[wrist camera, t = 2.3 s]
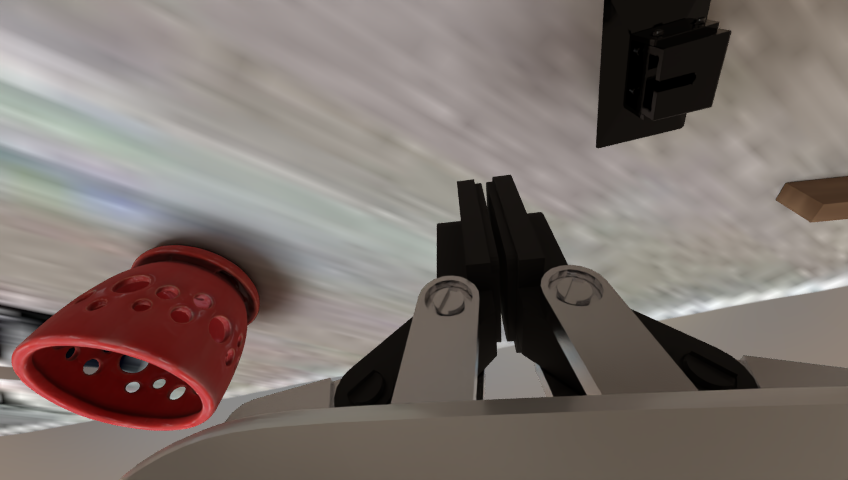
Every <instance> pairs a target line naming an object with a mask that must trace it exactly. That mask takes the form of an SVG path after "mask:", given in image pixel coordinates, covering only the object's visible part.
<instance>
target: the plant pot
mask: <svg viewBox="0 0 848 480" xmlns="http://www.w3.org/2000/svg"><path fill="white" fill-rule="evenodd" d="M259 306H260V301H259V296H258V292H257V289H256V287H255V286H254V284H253V282H252V281H251V280H250V278H249V277H248V276H247V275H246V274H245V273H244V272H243V271H242V270H241V269H240V268H239V267H238V266H236V265H235V264H233V263H232V262H230V261H229V260H227V259H225V258H223V257H221V256H220V255H217V254H215V253H212V252H210V251H207V250H204V249H201V248H196V247H191V246H183V245H169V246H161V247H157V248H153V249H150V250H148V251H146V252H145V253H143V254H142V255H140V256H139V257H138V258H137V259H136V260H135V262H134V263H133V265H132V267H131V269H130V270H127V271H125V272H122V273H120V274H117V275H115V276H113V277H111V278H109V279H107V280H106V281H104V282H102V283H100V284H99V285H97V286H95V287H93V288H92V289H90V290H88V291H87V292H85V293H83V294H82V295H80V296H79V297H77V298H76V299H74V300H73V301H72V302H70V303H69V304H68V305H66V306H65V307H63V308H62V309H61V310H59V311H58V312H57V313H56V314H55V315H53V316H52V317H51V318H50V319H48V320H47V321H46V322H45V323H43V324H42V325H41V326H40V327H39V328H38V329H36V330H35V331H34V332H33V333H32V334H31V335H30V336H28V337H27V338H26V339H25V340H24V341H23V342H22V343H21V344H19V346H17V347H16V349H15V350H14V352H13V354H12V366H13V369H14V371H15V373H16V374H17V375H18V376H19V378H20V379H21V381H22V382H23V383H24V384H25V385H27V386H28V387H29V388H31V389H32V390H33V391H35V392H36V393H37V394H39V395H40V396H42V397H44V398H45V399H47V400H49V401H51V402H53V403H54V404H56V405H58V406H60V407H62V408H64V409H67V410H69V411H71V412H73V413H76V414H78V415H81V416H84V417H87V418H90V419H93V420H97V421H101V422H104V423H109V424H112V425H117V426H124V427H129V428H135V429H144V430H164V431H167V430H181V429H187V428H191V427H194V426H197V425H199V424H201V423H203V422H205V421H206V420H207V419H209V418H210V417H211V416H212V414H213V413H214V412H215V410H216V409H217V407H218V405H219V403H220V401H221V399H222V397H223V396H224V394H225V392H226V390H227V388H228V386H229V384H230V382H231V379H232V377H233V375H234V373H235V370H236V368H237V365H238V363H239V360H240V357H241V354H242V351H243V348H244V344H245V339H246V333H247V325H249V324H250V323H251V322H252V321H253V320H254V319H255V318H256V316H257V314H258V311H259ZM72 347H75V352H74V354H73V356H71V357H70V358H68V359H66V356H65V355H66V353H67V351H68V350H69V349H70V348H72ZM102 349H103V350H108V351H110V352H108V353H105V352H103V351H102ZM124 354H125V355H128V356H131V357H135V358H138V359H141V360H144V361H146V362H149V363H148V365H147V367H146V368H145V369H143V370H142V371H140V372H138V373H128V372H125V371H123V370H122V369H121V368H120V366H119V361H120V359H121V357H122V356H123V355H124ZM90 359H96V360H98V362H99V368H98V370H97V371H96V372H95V373H94V374H92V375H88V374H85V373H84V371H83V366H84V364H85V363H86V362H87V361H88V360H90ZM159 379H165V380H166V383H165V385H164V386H163V387H161V388H158V389H156V388H154V387H153V384H154V382H155V381H157V380H159ZM131 382H138V383H139V384H140V388H139V389H138V390H137V391H136V392H133V393H129V392H127V391H126V386H127V385H128V384H129V383H131ZM178 387H185V388H186V390H185V392H184V394H183V395H182V396H181V397H180V398H178V399H175V400H172V399H170V394H171V393H172V391H173V390H175V389H176V388H178Z"/></svg>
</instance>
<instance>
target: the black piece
mask: <svg viewBox="0 0 848 480" xmlns="http://www.w3.org/2000/svg"><path fill="white" fill-rule="evenodd" d="M710 1H711V0H604V13H603V31H602V49H601V66H600V84H599V102H598V119H597V137H596V148H602V147H606V146H610V145H614V144H618V143H622V142H626V141H631V140H635V139H639V138H643V137H647V136H651V135H656V134H660V133H664V132H668V131H672V130H676V129H680V128H682V127H683V126H684V122H685V118H686V113H689V112H693V111H697V110H701V109H705V108H710V107H712V104H713V100H714V96H715V92H716V89H717V85H718V81H719V77H720V73H721V69H722V66H723V62H724V58H725V54H726V50H727V46H728V43H729V39H730V35H731V30H724V29H718V26H719V22H718V21H710V20H707V15H708V11H709V6H710Z"/></svg>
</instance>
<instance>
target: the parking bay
mask: <svg viewBox="0 0 848 480" xmlns="http://www.w3.org/2000/svg"><path fill="white" fill-rule="evenodd" d="M776 201H778V202H779V203H781V204H783V205H784V206H786V207H787V208H789V209H790V210H792V211H794V212H795V213H797V214H798V215H800V216H801V217H803V218H805V219H806V220H808V221H809V222H820V221H830V220H841V219H848V176H845V177H836V178H827V179H818V180H809V181H800V182H791V183H786V184H785V185H784V187H783V189H782V190H781V192H780V194H779V195H778V197H777V199H776Z"/></svg>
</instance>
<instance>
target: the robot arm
mask: <svg viewBox="0 0 848 480" xmlns="http://www.w3.org/2000/svg"><path fill="white" fill-rule="evenodd" d="M457 187H458V197H459V206H460V216H461V221H456V222H447V223H438V224H437V279H434V280H432V281H431V282H429V283H427V284H426V285H425V286H424V287H423V289H422V290H421V292H420V294H419V296H418V300H417V304H416V308H415V312H414V316H413V317H412V318H411V319H409V320H408V321H407V322H406V323H405V324H403V325H402V326H401V327H400V328H399V329H397V330H396V331H395V332H394V333H393V334H391V335H390V336H389V337H388V338H387V339H385V340H384V341H383V342H382V343H381V344H379V345H378V346H377V347H376V348H375V349H374V350H372V351H371V352H370V353H369V354H368V355H366V356H365V357H364V358H363V359H362V360H360V361H359V362H358V363H357V364H356V365H354V366H353V367H352V368H351V369H350V370H349V371H348V372H347V373H346V374H345V375H344V376H343V377H342V379H340V380H337V381H332V380H331V378H328V379H324V380H320V381H317V382H313V383H310V384H306V385H303V386H300V387H296V388H292V389H289V390H285V391H282V392H278V393H274V394H271V395H267V396H264V397H260V398H257V399H253V400H251V401H249V402H247V403H244V404H242V405H241V406H240V407H239V408H238V409H236V410H235V411H234V412H232V414H231V415H230V416H229V417H228V419H227V420H226V421H225V423H222V424H219V425H216V426H213V427H210V428H207V429H205V430H202V431H200V432H198V433H195V434H193V435H191V436H188V437H186V438H184V439H182V440H179V441H177V442H175V443H173V444H171V445H169V446H167V447H165V448H163V449H161V450H160V451H158V452H156V453H155V454H153V455H151V456H150V457H148V458H147V459H145V460H143V461H142V462H140V463H139V464H137V465H136V466H135V467H134V468H133V469H131V470H130V471H129V472H128V473H126V474H125V475H124V476H123V477H121V478H120V479H119V480H848V368H842V367H834V366H826V365H818V364H810V363H802V362H794V361H786V360H778V359H770V358H762V357H754V356H745V355H743V356H742V358H741V359H740V360H736V359H735V358H733V357H732V356H730V355H729V354H727V353H725V352H723V351H721V350H720V349H718V348H716V347H714V346H711V345H709V344H707V343H705V342H703V341H700V340H698V339H696V338H694V337H691V336H689V335H687V334H685V333H683V332H681V331H678V330H676V329H674V328H672V327H669V326H667V325H665V324H663V323H661V322H658V321H656V320H654V319H652V318H650V317H647V316H645V315H643V314H641V313H639V312H636V311H634V310H632V309H630V308H629V307H628V305H627V304H626V303H625V302H624V301H623V299H622V298H621V297H620V296H619V295H618V293H617V292H616V291H615V290H614V289H613V287H612V286H611V285H610V284H609V283H608V281H607V280H606V279H605V278H603V277H602V276H601V275H600V274H599V273H597V272H595V271H593V270H591V269H588V268H585V267H582V266H575V265H568V264H567V262H566V260H565V258H564V256H563V254H562V252H561V249H560V247H559V245H558V243H557V241H556V239H555V237H554V235H553V233H552V231H551V229H550V227H549V225H548V223H547V221H546V219H545V217H544V215H543V213H541V212H537V213H528V214H527V213H526V210H525V208H524V205H523V203H522V200H521V198H520V196H519V193H518V191H517V188H516V186H515V183H514V181H513V178H512V176H511V175H505V176H497V177H493V178H492V182H486V192H487V206H486V201H485V197H484V193H483V189H482V184H481V183H478V184H475V182H474V179H473V180H465V181H457ZM501 315H502V320H503V325H504V330H505V335H506V339H507V342H508V341H514V344H515V348H516V352H517V353H522V354H523V355H524V356H526V357H527V358H529V359H530V360H532V361H533V362H534V366H535V370H536V373H537V376H538V378H539V380H540V383H541V385H542V387H543V390H544V392H545V394H546V397H541V398H518V399H494V400H484V398H485V397H484V396H485V368H486V367H487V366H488V365H489V363H490V362H491V361H492V360H493V359H494V358H495V357H496V356H497V342H501Z"/></svg>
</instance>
